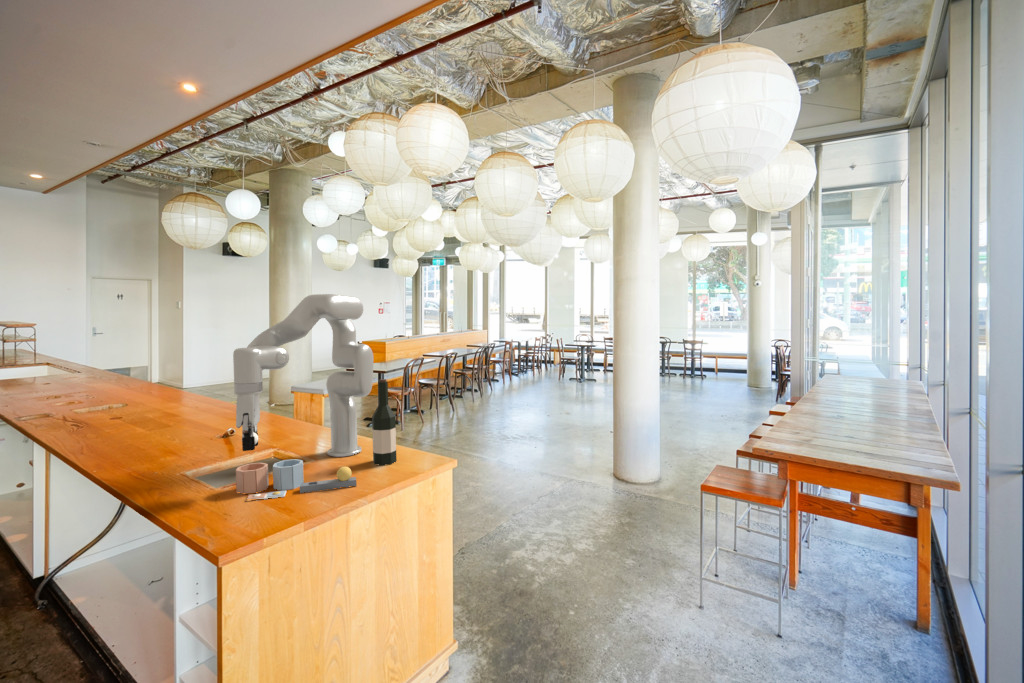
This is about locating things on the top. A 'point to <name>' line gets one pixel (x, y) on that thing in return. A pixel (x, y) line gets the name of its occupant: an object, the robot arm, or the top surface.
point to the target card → (267, 495)
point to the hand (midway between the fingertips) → (250, 447)
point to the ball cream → (255, 437)
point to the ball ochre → (344, 473)
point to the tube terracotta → (252, 478)
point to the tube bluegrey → (288, 474)
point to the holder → (326, 485)
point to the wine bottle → (384, 428)
